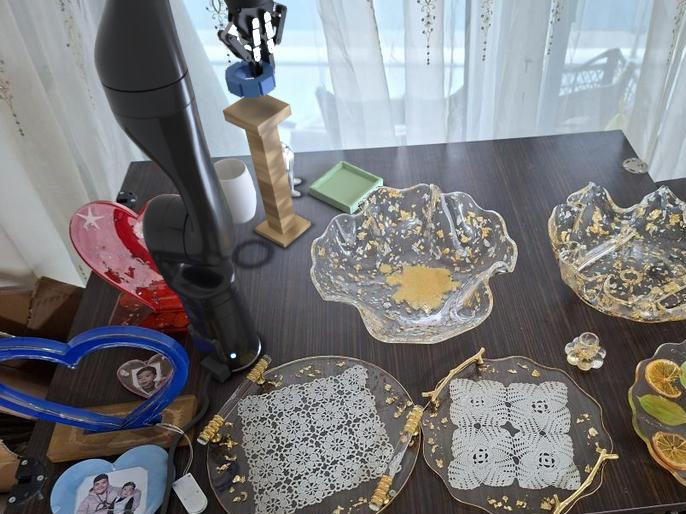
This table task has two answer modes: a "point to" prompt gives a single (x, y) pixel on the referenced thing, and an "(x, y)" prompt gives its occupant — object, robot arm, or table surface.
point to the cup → (237, 188)
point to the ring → (249, 80)
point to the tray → (344, 186)
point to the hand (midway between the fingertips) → (264, 76)
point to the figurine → (290, 169)
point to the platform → (269, 164)
